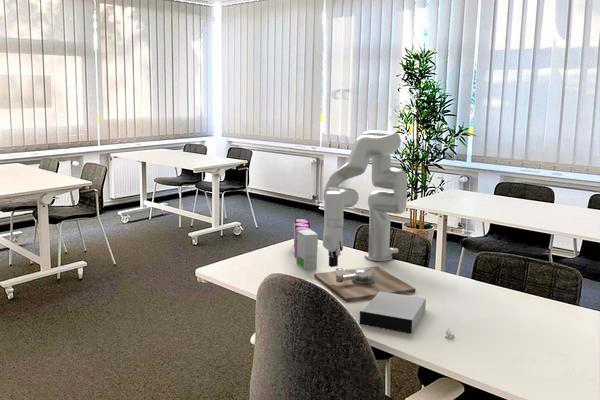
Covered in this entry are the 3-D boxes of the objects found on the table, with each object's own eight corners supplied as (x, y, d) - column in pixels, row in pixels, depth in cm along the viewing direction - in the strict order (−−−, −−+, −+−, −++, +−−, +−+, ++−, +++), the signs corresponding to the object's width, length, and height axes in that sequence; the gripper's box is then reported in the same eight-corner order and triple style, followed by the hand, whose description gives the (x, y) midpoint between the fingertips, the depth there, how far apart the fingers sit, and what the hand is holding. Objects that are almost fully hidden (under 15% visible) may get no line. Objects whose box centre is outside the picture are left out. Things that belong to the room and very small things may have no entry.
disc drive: (359, 325, 193) (359, 311, 192) (378, 303, 213) (379, 290, 212) (411, 335, 186) (411, 320, 185) (425, 311, 206) (426, 297, 205)
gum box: (293, 243, 290) (293, 217, 287) (309, 243, 290) (309, 217, 287) (294, 257, 266) (294, 229, 264) (311, 257, 266) (311, 229, 264)
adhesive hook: (447, 335, 186) (448, 326, 185) (455, 337, 184) (455, 328, 184) (443, 338, 183) (444, 329, 183) (451, 341, 182) (451, 331, 181)
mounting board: (377, 269, 250) (377, 263, 250) (415, 292, 223) (415, 286, 222) (314, 277, 239) (314, 271, 239) (345, 302, 212) (345, 295, 212)
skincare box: (296, 264, 256) (296, 230, 253) (309, 262, 259) (310, 228, 256) (304, 269, 249) (304, 234, 246) (317, 267, 252) (318, 233, 249)
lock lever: (363, 273, 236) (364, 261, 235) (376, 280, 228) (377, 267, 227) (330, 278, 229) (330, 266, 228) (342, 286, 221) (342, 273, 220)
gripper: (317, 218, 233) (317, 261, 237) (333, 227, 219) (332, 273, 223) (334, 216, 235) (333, 259, 239) (350, 225, 222) (349, 270, 226)
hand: (333, 266), depth 231 cm, fingers closed
